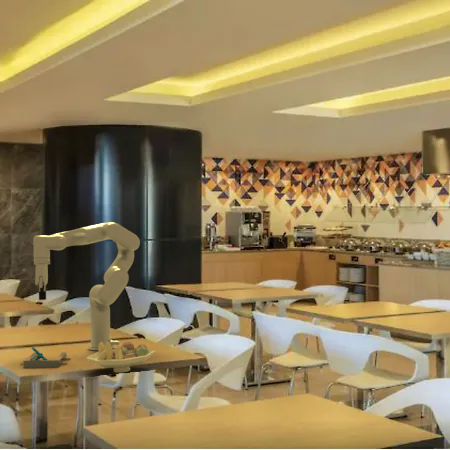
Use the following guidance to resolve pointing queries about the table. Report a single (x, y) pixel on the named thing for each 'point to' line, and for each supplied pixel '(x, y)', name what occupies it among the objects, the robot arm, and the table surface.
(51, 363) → the rail
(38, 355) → the gear
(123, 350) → the dish with food
